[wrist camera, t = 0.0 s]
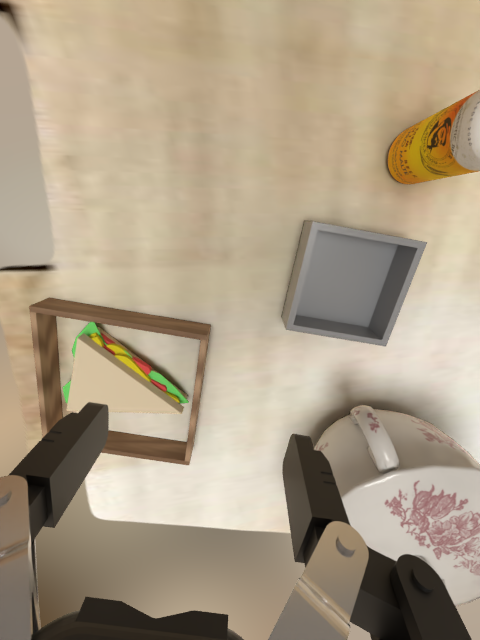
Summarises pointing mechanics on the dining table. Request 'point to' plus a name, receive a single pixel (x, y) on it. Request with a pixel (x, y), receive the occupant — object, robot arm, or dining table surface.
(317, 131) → the dining table surface
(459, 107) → the beer can
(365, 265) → the box
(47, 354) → the serving board rim
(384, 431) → the chamber pot
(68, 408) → the sandwich
